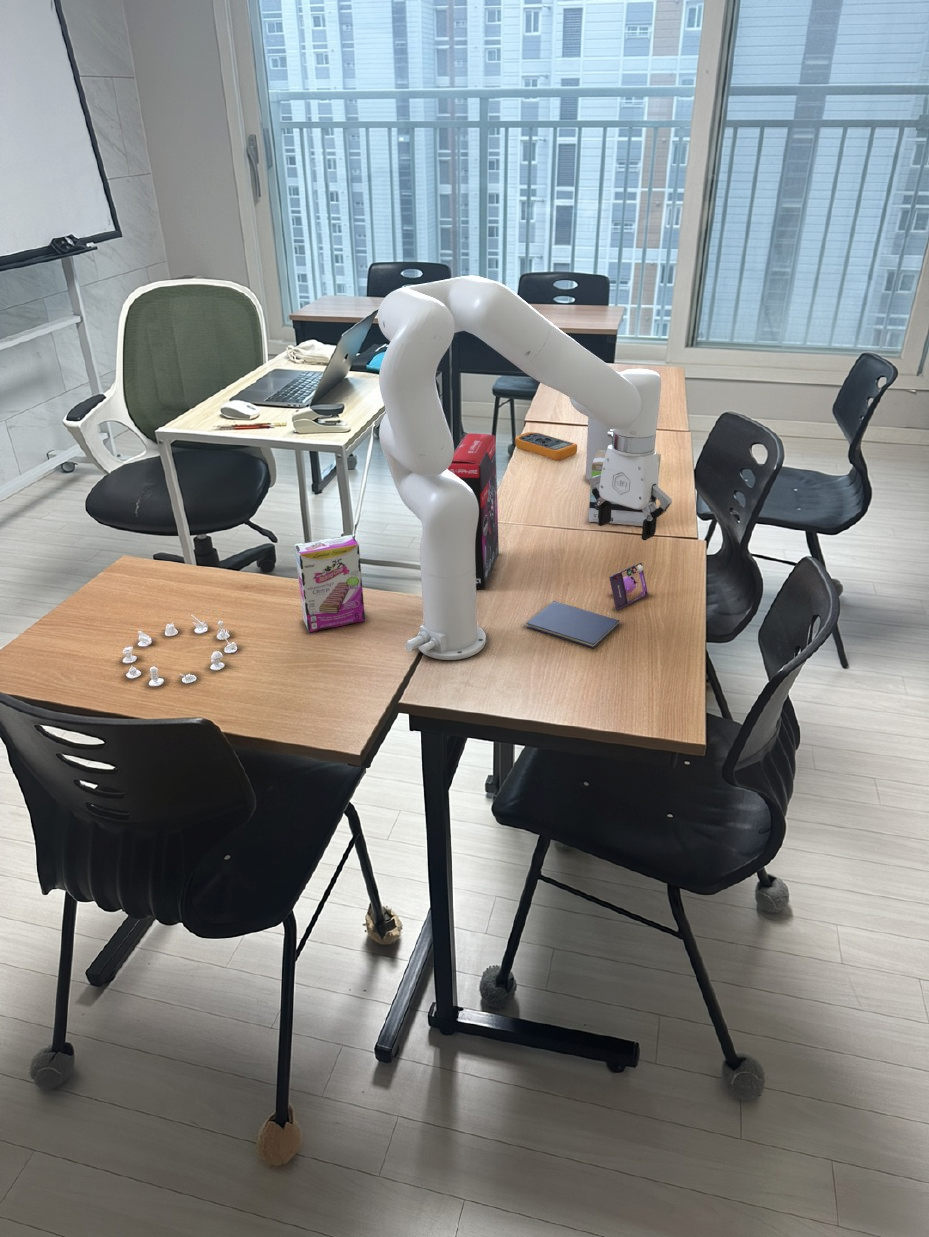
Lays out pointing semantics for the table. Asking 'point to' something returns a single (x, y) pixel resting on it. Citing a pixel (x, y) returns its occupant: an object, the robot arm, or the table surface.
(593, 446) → the cylinder vase
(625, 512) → the tea box
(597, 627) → the notebook
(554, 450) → the multimeter
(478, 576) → the graphics card box
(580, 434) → the table surface
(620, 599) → the purple toy package
